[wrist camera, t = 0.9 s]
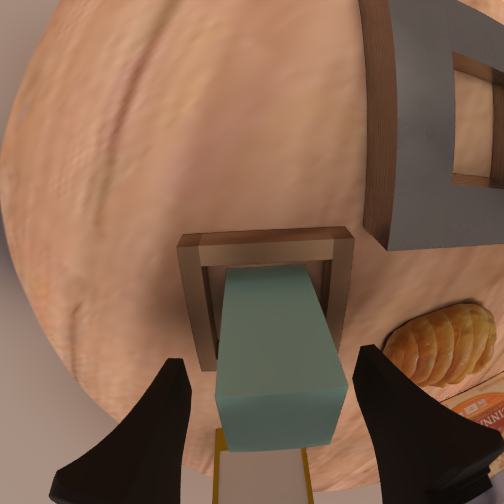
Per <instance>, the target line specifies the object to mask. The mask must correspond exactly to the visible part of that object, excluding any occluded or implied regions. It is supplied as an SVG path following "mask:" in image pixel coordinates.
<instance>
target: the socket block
mask: <svg viewBox="0 0 504 504" xmlns="http://www.w3.org/2000/svg"><path fill="white" fill-rule="evenodd" d="M359 5H360V12H361V20H362V29H363V38H364V49H365V63H366V80H367V111H368V143H367V175H366V193H365V208H364V220H363V227H364V228H365V229H366V230H367V231H368V232H369V233H370V234H371V235H372V236H373V237H374V238H375V239H376V240H377V241H378V242H379V243H380V244H381V245H382V246H383V247H384V248H385V249H386V250H387V251H399V250H415V249H431V248H447V247H462V246H477V245H492V244H504V25H502V24H501V23H499V22H497V21H496V20H494V19H492V18H490V17H489V16H487V15H485V14H483V13H481V12H479V11H478V10H476V9H474V8H472V7H470V6H468V5H466V4H463V3H461V2H459V1H457V0H359ZM454 69H455V70H458V71H461V72H464V73H467V74H470V75H472V76H475V77H478V78H480V79H483V80H485V81H488V82H490V83H493V96H494V137H493V155H492V167H491V176H490V178H487V177H479V176H472V175H463V174H454V173H453V161H454V146H455V84H454Z"/></svg>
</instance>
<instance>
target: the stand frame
mask: <svg viewBox="0 0 504 504" xmlns="http://www.w3.org/2000/svg"><path fill="white" fill-rule="evenodd" d="M354 239H355V238H354V237H353V236H352V235H351V233H350V232H349V231H348V230H347V229H346V228H345V227H322V228H298V229H276V230H256V231H237V232H219V233H202V234H186V235H182V237H181V239H180V241H179V243H178V245H177V247H176V248H177V254H178V260H179V266H180V272H181V277H182V283H183V288H184V294H185V299H186V304H187V309H188V314H189V319H190V323H191V328H192V333H193V337H194V342H195V346H196V351H197V355H198V359H199V363H200V368H201V371H217V364H218V353H219V342H218V341H217V334H216V328H215V322H214V315H213V308H212V301H211V294H210V287H209V280H208V272H207V266H219V265H239V264H259V263H277V262H295V261H313V260H324V265H323V278H322V290H321V301H320V306H321V309H322V312H323V314H324V317H325V320H326V322H327V325H328V328H329V331H330V334H331V336H332V339H333V342H334V345H335V348H336V351H337V353H338V351H339V346H340V341H341V335H342V329H343V323H344V317H345V311H346V304H347V298H348V291H349V283H350V276H351V267H352V259H353V249H354Z"/></svg>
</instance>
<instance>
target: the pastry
mask: <svg viewBox="0 0 504 504" xmlns="http://www.w3.org/2000/svg"><path fill="white" fill-rule="evenodd" d="M495 342H496V327H495V321H494V317H493V315H492V313H491V312H490V311H489V310H487V309H485V308H483V307H480V306H478V305H476V304H472V303H470V304H462V303H459V304H456V305H453V306H449V307H447V308H443V309H439V310H437V311H435V312H432V313H429V314H426V315H423V316H421V317H418V318H415V319H413V320H410V321H409V322H408V323H407V324H405V325H404V326H402V327H400V328H398V329H396V330H395V331H394V332H393V333H392V335H391V336H390V337H389V338H388V341H387V343H386V346H385V348H384V350H383V354H384V355H385V356H386V357H387V358H388V359H389V360H390V361H391V362H392V363H393V364H394V365H395V366H396V367H397V368H398V369H399V370H400V371H402V372H403V373H404V374H405V375H406V376H407V377H408V378H409V379H410V380H411V381H412V382H413V383H415V384H417V385H418V386H420V387H425V386H428V385H429V386H436V387H444V386H446V385H447V384H458V383H460V382H461V381H462V380H463V379H464V378H465V377H466V375H469V374H476V373H478V372H480V371H481V370H482V369H483V368H485V367H486V365H487V364H488V362H489V361H490V360H491V358H492V355H493V351H494V344H495Z"/></svg>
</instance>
